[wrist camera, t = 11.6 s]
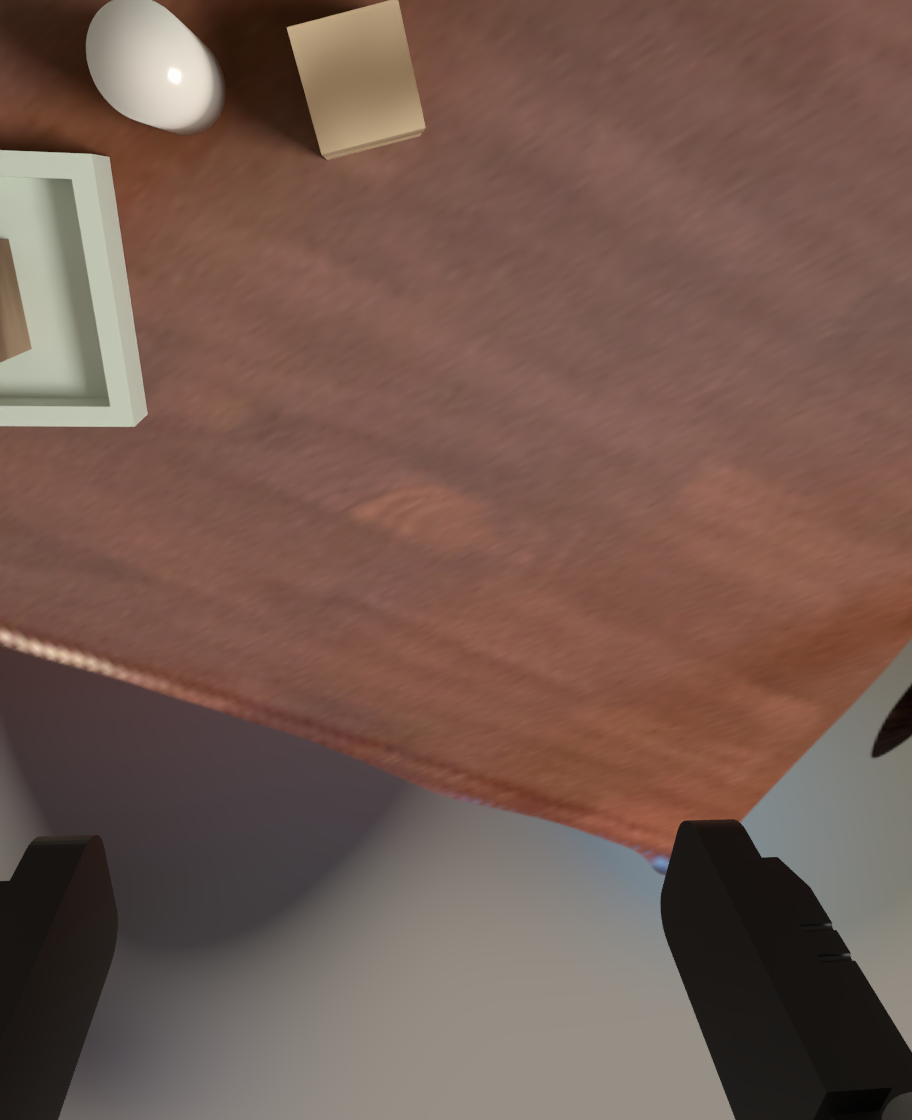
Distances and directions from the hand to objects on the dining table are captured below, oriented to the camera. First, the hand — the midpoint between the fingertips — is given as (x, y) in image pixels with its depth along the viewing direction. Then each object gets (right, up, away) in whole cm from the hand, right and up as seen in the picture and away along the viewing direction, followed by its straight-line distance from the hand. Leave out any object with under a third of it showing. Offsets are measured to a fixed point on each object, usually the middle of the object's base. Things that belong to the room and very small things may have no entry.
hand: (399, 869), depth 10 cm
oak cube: (-4, +26, +24) cm, 35 cm away
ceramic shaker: (-12, +26, +23) cm, 36 cm away
